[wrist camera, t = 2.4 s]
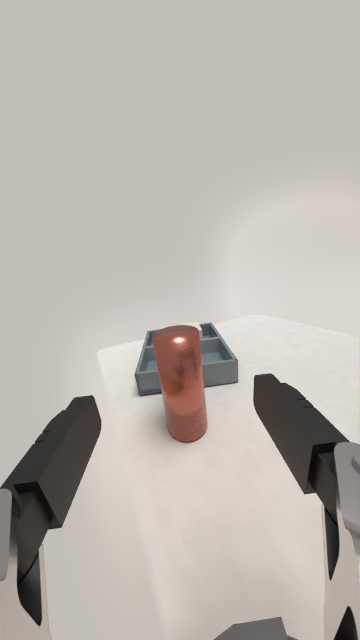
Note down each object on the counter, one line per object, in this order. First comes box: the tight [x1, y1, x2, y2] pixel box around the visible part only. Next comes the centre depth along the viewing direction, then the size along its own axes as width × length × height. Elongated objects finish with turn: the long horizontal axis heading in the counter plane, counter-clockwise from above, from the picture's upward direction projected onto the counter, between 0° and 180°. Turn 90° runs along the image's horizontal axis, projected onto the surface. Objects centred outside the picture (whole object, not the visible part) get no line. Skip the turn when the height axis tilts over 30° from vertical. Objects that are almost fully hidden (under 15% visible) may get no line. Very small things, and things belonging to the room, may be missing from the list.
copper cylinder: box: [152, 325, 207, 442], centre depth 23 cm, size 6×6×14 cm
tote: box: [135, 323, 238, 396], centre depth 41 cm, size 18×20×4 cm
